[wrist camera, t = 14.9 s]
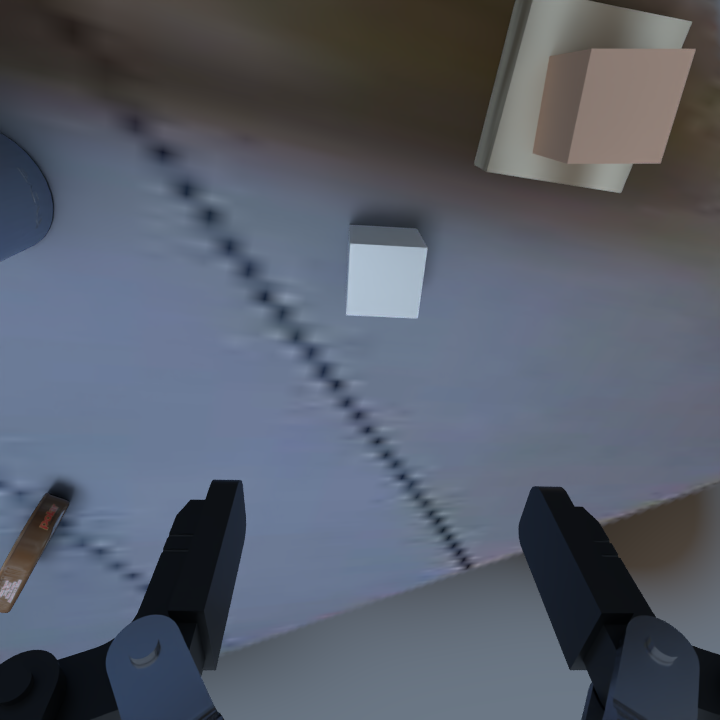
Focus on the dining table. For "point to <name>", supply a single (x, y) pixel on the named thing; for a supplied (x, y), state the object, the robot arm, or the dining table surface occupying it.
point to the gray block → (528, 73)
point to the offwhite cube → (384, 271)
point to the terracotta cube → (610, 105)
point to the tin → (29, 548)
